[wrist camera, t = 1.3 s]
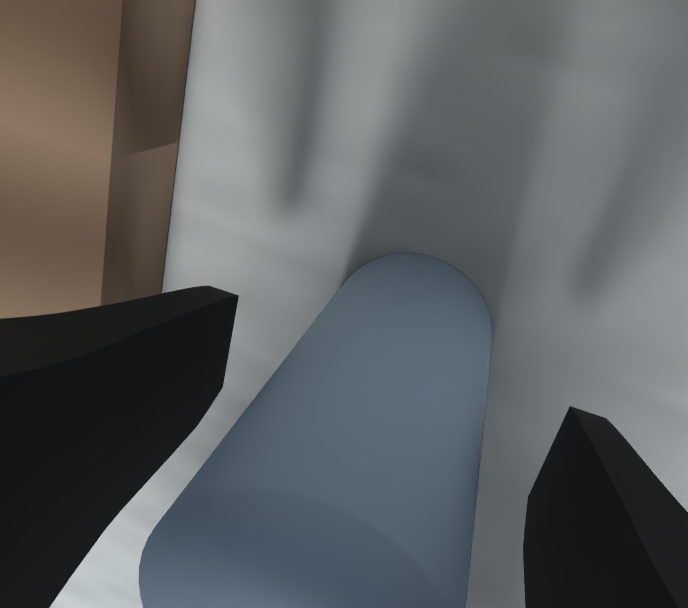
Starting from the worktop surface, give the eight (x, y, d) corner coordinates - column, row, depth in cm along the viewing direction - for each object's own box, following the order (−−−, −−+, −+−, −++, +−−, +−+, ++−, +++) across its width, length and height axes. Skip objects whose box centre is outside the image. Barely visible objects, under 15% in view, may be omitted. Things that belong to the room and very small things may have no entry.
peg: (463, 423, 14) (405, 792, 7) (316, 372, 15) (126, 669, 8) (516, 283, 13) (511, 571, 6) (351, 232, 13) (155, 438, 6)
